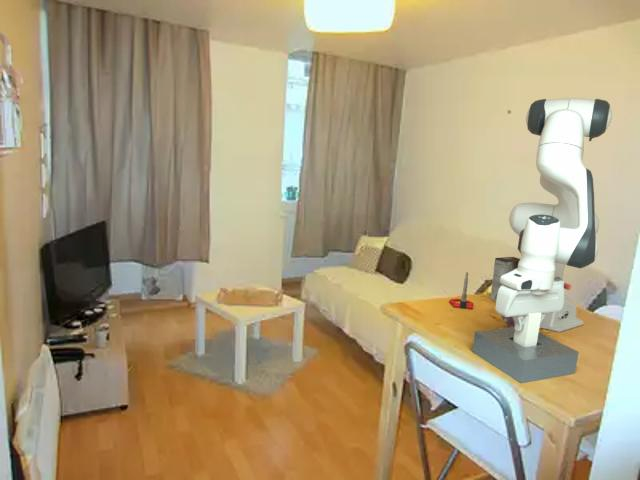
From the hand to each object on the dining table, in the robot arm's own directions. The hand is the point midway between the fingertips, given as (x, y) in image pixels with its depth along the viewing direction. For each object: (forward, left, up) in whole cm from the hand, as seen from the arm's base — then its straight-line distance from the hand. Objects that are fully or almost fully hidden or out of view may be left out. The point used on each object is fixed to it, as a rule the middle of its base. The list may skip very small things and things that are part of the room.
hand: (526, 329), depth 126 cm
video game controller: (-15, -17, -10) cm, 25 cm away
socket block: (0, 0, -10) cm, 10 cm away
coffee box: (-34, -43, -10) cm, 56 cm away
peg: (0, 0, -7) cm, 7 cm away
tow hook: (-14, -43, -10) cm, 46 cm away
